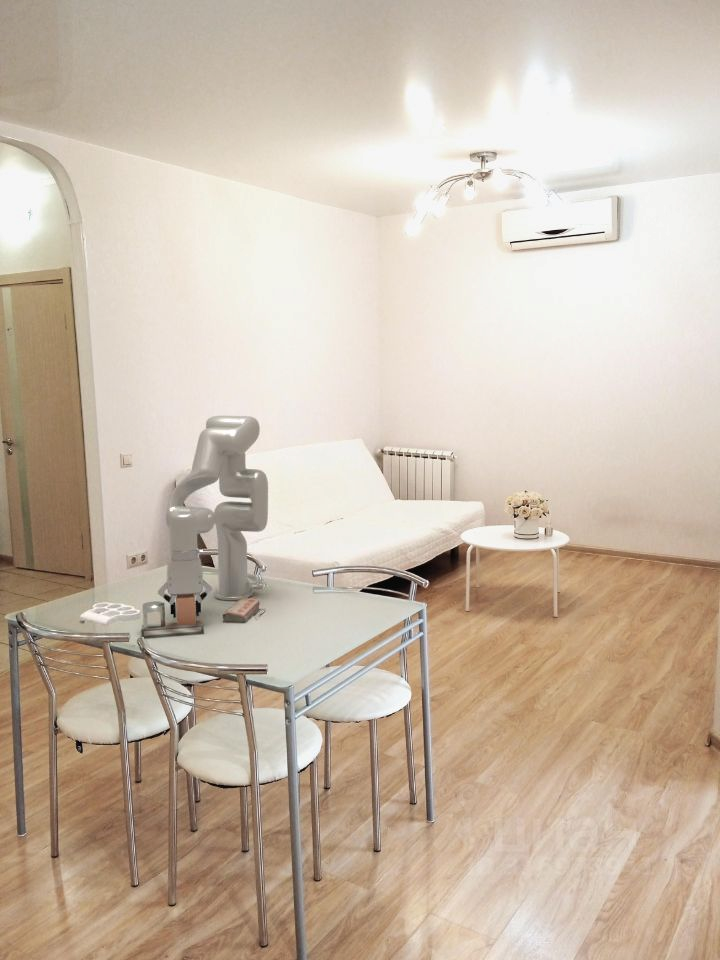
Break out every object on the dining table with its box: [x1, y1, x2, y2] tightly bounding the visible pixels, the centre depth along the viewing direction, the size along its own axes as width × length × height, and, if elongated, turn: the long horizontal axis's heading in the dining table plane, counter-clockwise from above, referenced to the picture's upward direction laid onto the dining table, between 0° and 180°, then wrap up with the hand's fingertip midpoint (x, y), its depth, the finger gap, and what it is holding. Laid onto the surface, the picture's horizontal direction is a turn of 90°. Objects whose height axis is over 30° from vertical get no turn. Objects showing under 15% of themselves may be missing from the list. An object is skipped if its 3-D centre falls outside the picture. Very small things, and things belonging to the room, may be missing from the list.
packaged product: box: [222, 597, 266, 624], centre depth 244 cm, size 18×5×10 cm
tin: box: [142, 600, 166, 629], centre depth 229 cm, size 6×6×8 cm
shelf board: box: [140, 620, 205, 639], centre depth 231 cm, size 17×12×4 cm
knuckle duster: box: [79, 601, 141, 626], centre depth 244 cm, size 3×18×15 cm
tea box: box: [175, 594, 197, 626], centre depth 234 cm, size 7×5×9 cm
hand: (185, 615), depth 234 cm, fingers open, 5 cm apart
